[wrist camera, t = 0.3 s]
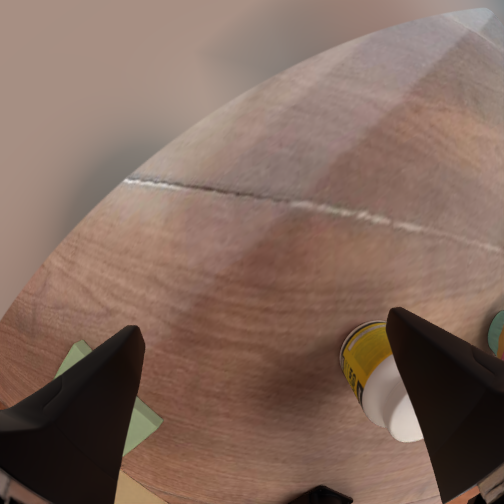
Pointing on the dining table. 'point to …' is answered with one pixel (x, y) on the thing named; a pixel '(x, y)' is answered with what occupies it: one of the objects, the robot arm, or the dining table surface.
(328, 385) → the dining table surface
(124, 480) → the wooden planter box
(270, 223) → the dining table surface
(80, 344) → the panel
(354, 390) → the pill bottle
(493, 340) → the cupcake
